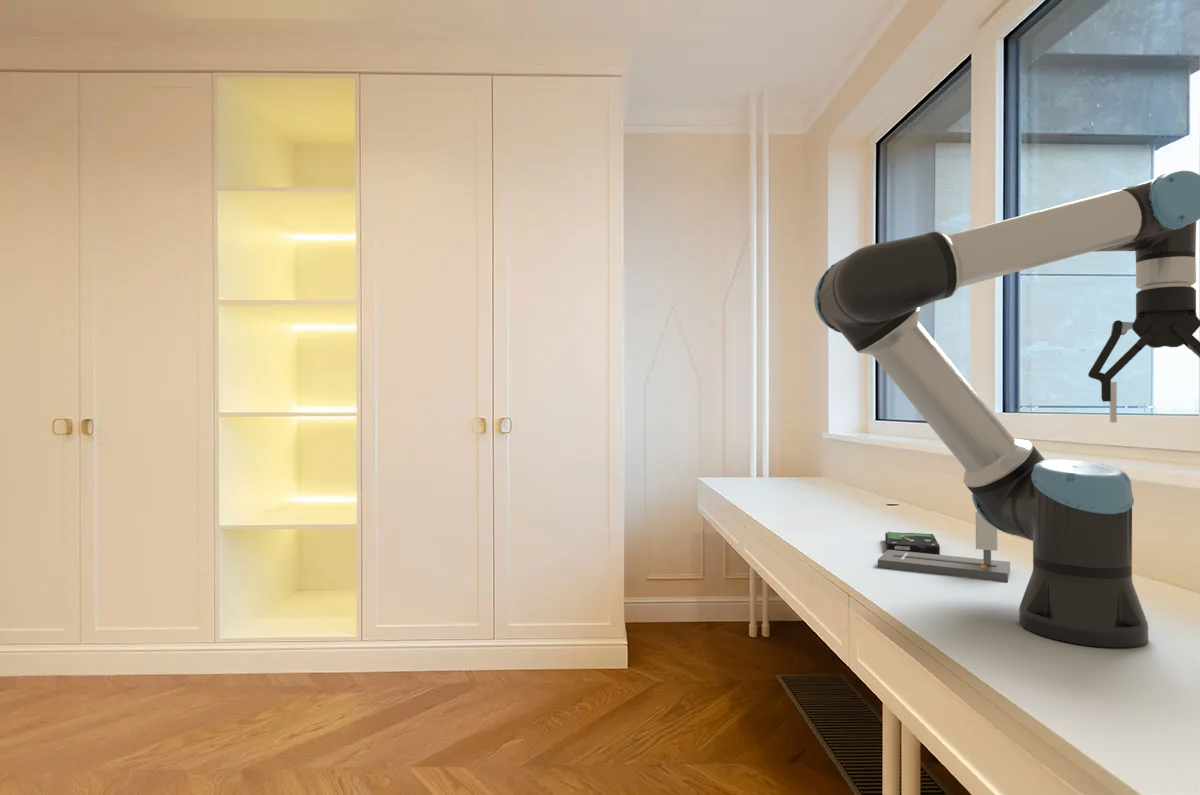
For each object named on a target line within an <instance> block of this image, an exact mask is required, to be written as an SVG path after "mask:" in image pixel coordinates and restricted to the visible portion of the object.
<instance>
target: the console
mask: <svg viewBox="0 0 1200 795" xmlns="http://www.w3.org/2000/svg"><path fill="white" fill-rule="evenodd" d="M877 568H881V569H889V570H898V571H907V572H908V571H909V572H915V573H916V572H918V573H926V574H935V575H944V576H952V577H953V576H954V577H961V578H962V577H963V578H969V579H971V578H972V579H981V580H988V581H996V582H1006V583H1008V581H1009V579H1010V578H1009V576H1010V572H1011V561H1007V560H1006V561H1004V560H996V559H991V565H990V564H983V558H975V557H967V556H966V557H965V556H955V555H945V554H944V555H943V554H940V555H937V554H926V553H916V552H906V551H896V550H887V549H886V551H885V552H884V553H883V554H882V555H881V556H880V557H879V558H878V559H877Z"/></svg>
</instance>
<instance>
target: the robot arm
mask: <svg viewBox="0 0 1200 795" xmlns="http://www.w3.org/2000/svg"><path fill="white" fill-rule="evenodd" d="M1199 220H1200V174H1199V173H1196V172H1194V171H1192V170H1186V169H1184V170H1183V169H1182V170H1176V171H1175V170H1174V171H1172V172H1170V173H1166V174H1161V175H1159V176H1157V177H1156V178H1154V179H1151V180H1148V181H1145V182H1142V183H1138V184H1135V185H1130V186H1126V187H1123V188H1120V189H1116V190H1115V189H1114V190H1112V191H1111V190H1110V191H1108V192H1104V193H1101V194H1096V195H1093V196H1089V197H1085V198H1081V199H1077V200H1074V201H1070V202H1066V203H1063V204H1060V205H1055V206H1052V207H1048V208H1045V209H1040V210H1038V211H1032V212H1029V213H1026V214H1022V215H1019V216H1015V217H1012V218H1007V219H1004V220H1000V221H996V222H993V223H988V224H984V225H981V226H978V227H977V226H976V227H974V228H970V229H967V230H962V231H958V232H955V233H952V234H948V235H945V234H943V233H942V232H941V231H931V232H928V233H924V234H919V235H915V236H911V237H905V238H899V239H896V240H889V241H884V242H878V243H874V244H870V245H866V246H863V247H861V248H858V249H856V250H855V251H853V252H851V253H850V254H849V255H848V256H846V257H844V258H842V259H840V260H838V261H837V262H836V263H834V264H832V265H831V266H830V267H829V268H828V269H826V271H825V272H824V273H823V274H822V276H821V277H820V278H819V280H818V282H817V284H816V287H815V291H814V298H813V301H814V307H815V310H816V314H817V315H818V317H819V319H820V320H821V322H822V323H823V324H824V325H826V327H828V328H829V329H830V330H833V331H834V332H836V333H840V334H842V335H843V337H844V338H845V339H846V341H848V343H849V344H850V345H851V346H852V347H853V349H854V350H855V352H857V354H865V355H871V356H873V358H874V360H876V361H877V363H878V364H879V365H880V366H881V368H882V369H883V370H884V372H885V373H886V374H887V375H888V377H889V378H890V379H891V380H892V381H893V382H894V384H895V385H896V386H897V387H898V388H899V390H900V391H901V392H902V393H903V395H904V396H905V397H906V398H907V400H908V401H909V402H910V403H911V404H912V405H913V406H914V408H915V409H916V411H917V412H918V413H919V414H920V416H921V417H922V418H923V419H924V421H925V422H927V424H928V425H929V427H930V428H931V430H933V431H934V432H935V434H936V435H937V436H938V438H939V439H940V440H941V442H942V443H944V444H945V446H946V447H947V448H948V450H949V451H950V453H952V455H953V456H954V457H955V458H956V460H957V461H958V462H959V464H960V465H961V466H962V467H963V469H964V470H965V471H964V474H963V479H962V480H963V481H962V482H963V484H965V487H967V489H968V490H969V491H970V492H971V499H972V502H973V505H974V507H975V511H976V510H977V511H978V513H979V514H980V515H981V516H982V518H983V519H984V520H986V521H987V522H988V523H989V524H991V525H992V526H994V527H995V528H997V529H998V530H999V531H1001V532H1003V533H1005V534H1009V535H1012V536H1018V537H1020V538H1022V539H1026V540H1029V541H1032V555H1033V556H1032V573H1031V575H1030V578H1029V580H1028V583H1027V586H1026V589H1025V591H1024V593H1023V596H1022V599H1021V601H1020V603H1019V608H1018V614H1019V615H1018V621H1019V622H1018V623H1019V624H1020V626H1022V627H1023V628H1025V629H1026V630H1028V631H1030V632H1032V633H1034V634H1037V635H1040V636H1044V637H1045V638H1050V639H1053V640H1057V641H1061V642H1066V643H1071V644H1075V645H1076V644H1078V645H1083V646H1090V647H1091V646H1092V647H1102V648H1135V647H1139V646H1143V645H1145V644H1147V643H1148V642H1149V624H1148V621H1147V618H1146V615H1145V612H1144V609H1143V607H1142V605H1141V602H1140V600H1139V596H1138V594H1137V591H1136V589H1135V586H1134V583H1133V506H1134V502H1135V501H1134V496H1133V488H1132V481H1131V478H1130V477H1129V475H1128V474H1127V473H1126V472H1125V471H1123V470H1122V469H1120V468H1117V467H1115V466H1112V465H1108V464H1104V463H1099V462H1090V461H1089V462H1088V461H1087V460H1086V461H1085V460H1078V459H1055V458H1054V459H1045V458H1044V457H1043V455H1042V454H1041V453H1040V452H1039V451H1038V449H1037V448H1036V447H1035V446H1034V444H1033V443H1032V442H1031V441H1030V440H1028V439H1022V438H1021V439H1020V438H1014V437H1013V436H1012V434H1011V432H1009V430H1008V429H1007V428H1006V427H1005V426H1004V425H1003V423H1002V422H1001V421H1000V419H999V418H998V417H997V416H996V415H995V413H994V412H993V411H992V410H991V408H990V407H989V406H988V405H987V404H986V402H985V401H984V400H983V399H982V397H981V396H980V395H979V393H977V391H976V390H975V389H974V388H973V387H972V385H971V384H970V383H969V382H968V381H967V379H966V378H965V377H964V376H963V375H962V373H961V372H960V370H958V368H957V367H956V366H955V364H954V363H953V362H952V361H951V359H950V358H949V357H948V356H947V355H946V354H945V352H944V351H943V350H942V349H941V348H940V346H939V345H938V344H937V343H936V341H935V340H934V339H933V338H932V337H931V335H930V334H929V333H928V332H927V330H926V329H925V328H924V326H922V324H921V323H920V321H919V316H920V311H921V307H923V306H926V305H929V304H931V303H934V302H937V301H940V300H941V301H942V300H945V299H948V298H951V297H953V296H954V295H955V294H956V293H957V290H958V289H959V288H962V287H965V286H969V285H973V284H976V283H981V282H983V281H987V280H988V281H989V280H992V279H995V278H999V277H1003V276H1006V275H1010V274H1013V273H1014V274H1015V273H1018V272H1022V271H1024V270H1028V269H1032V268H1035V267H1040V266H1043V265H1048V264H1052V263H1055V262H1058V261H1059V262H1060V261H1062V260H1066V259H1070V258H1072V257H1077V256H1080V255H1083V254H1088V253H1091V252H1092V253H1093V252H1135V287H1136V288H1137V289H1139V290H1138V291H1137V293H1135V319H1134V321H1131V322H1130V321H1121V319H1120V320H1119V319H1118V320H1115V321H1114V322H1113V323H1112V324H1111V334H1110V336H1109V337H1108V339H1107V341H1106V343H1105V344H1104V345H1103V348H1102V349H1101V351H1100V353H1099V355H1098V356H1097V358H1096V360H1095V361H1094V363H1093V364H1092V367H1091V368H1090V370H1089V372H1088V374H1087V375H1088V377H1089V378H1090V379H1094V380H1096V381H1099V382H1100V384H1101V386H1100V388H1101V389H1100V393H1101V396H1100V397H1101V401H1102V402H1109V423H1112V424H1113V423H1118V416H1117V414H1118V412H1117V409H1118V408H1117V406H1118V404H1117V400H1118V398H1117V396H1118V395H1117V392H1118V390H1117V388H1118V387H1117V386H1118V385H1117V384H1118V383H1117V381H1112V379H1113V378H1114V377H1115V376H1116V375H1117V374H1118V373H1119V372H1120V371H1122V369H1123V368H1124V367H1125V366H1126V365H1127V364H1128V363H1130V362H1131V360H1133V359H1134V357H1135V356H1137V355H1138V353H1140V352H1141V351H1142V350H1143V349H1144V348H1145V347H1146V346H1148V347H1149V348H1152V349H1156V348H1157V349H1159V348H1163V347H1166V348H1178V347H1181V346H1183V345H1185V347H1186V348H1187V349H1189V350H1190V351H1191V352H1193V354H1195V355H1196V356H1197V357H1198V358H1199V359H1200V341H1199V340H1198V339H1197V338H1196V337H1195V336H1194V334H1195V333H1196V331H1197V330H1198V329H1199V328H1200V318H1199V317H1198V316H1197V289H1195V287H1193V285H1194V284H1196V283H1197V262H1196V248H1197V246H1196V244H1197V242H1196V241H1197V221H1199ZM1130 330H1132V331H1133V332H1134V333H1135V334H1136V335H1137V336H1138V337H1139V339H1137V341H1136V342H1135V343H1134V344H1133V345H1132V346H1130V348H1128V350H1127V351H1126V352H1125V353H1124V354H1123V355H1122V356H1121V357H1120V358H1118V360H1117V361H1116V362H1115V363H1113V365H1112V366H1110V368H1109V369H1108V370H1107V371H1106V372H1101V370H1102V369H1103V367H1104V365H1105V363H1107V360H1108V358H1109V357H1110V355H1111V353H1112V352H1113V350H1114V348H1115V347H1116V345H1117V344H1118V342H1119V340H1120V338H1121V336H1124V335H1126V334H1127V333H1128V331H1130Z"/></svg>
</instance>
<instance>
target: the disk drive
mask: <svg viewBox="0 0 1200 795" xmlns="http://www.w3.org/2000/svg"><path fill="white" fill-rule="evenodd" d="M884 540H885V542H886V543H885V545H886V546H887V547H886V551H887V550H896V551H906V552H916V553H926V554H937V555H941V547H940V544H939V542H938V541H937V539H936V537H935V535H934V534H933V533H922V532H921V533H919V532H918V533H917V532H897V531H894V532H892V531H887V532H885V535H884Z"/></svg>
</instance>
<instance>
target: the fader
mask: <svg viewBox="0 0 1200 795" xmlns="http://www.w3.org/2000/svg"><path fill="white" fill-rule="evenodd" d="M999 531H1000V530H998V529H997V528H995V527H994V526H992V525H991V524H989V523H988V522H987V521H986V520H984V519H983V518H982V516H981V515H980V514H979V513H978V511H977V510H976V509H975V549H976V550H982V552H983V558H982V559H983V564H990V565H991V560H992V551H995V552H997V551H998V549H999V540H1000V537H999Z"/></svg>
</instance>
